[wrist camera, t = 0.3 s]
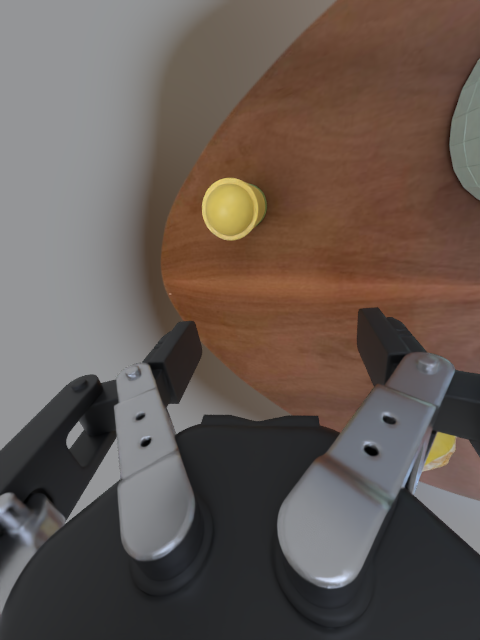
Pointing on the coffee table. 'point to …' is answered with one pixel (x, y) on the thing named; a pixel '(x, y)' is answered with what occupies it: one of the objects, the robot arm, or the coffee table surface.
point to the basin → (467, 135)
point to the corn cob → (233, 208)
